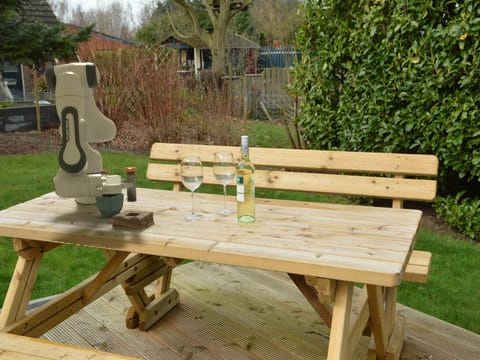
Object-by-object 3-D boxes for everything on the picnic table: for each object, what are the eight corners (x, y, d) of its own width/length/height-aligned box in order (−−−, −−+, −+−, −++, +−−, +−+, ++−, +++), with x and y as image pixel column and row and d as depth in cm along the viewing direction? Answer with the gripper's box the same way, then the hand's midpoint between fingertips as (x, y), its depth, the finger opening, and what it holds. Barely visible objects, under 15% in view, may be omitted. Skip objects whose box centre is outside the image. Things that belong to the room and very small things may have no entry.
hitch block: (127, 219, 222) (126, 209, 222) (153, 221, 219) (153, 211, 218) (112, 227, 211) (111, 217, 210) (139, 229, 208) (139, 219, 207)
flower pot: (95, 216, 227) (94, 195, 226) (109, 211, 235) (108, 191, 233) (111, 219, 223) (110, 197, 222) (125, 214, 231) (124, 193, 229)
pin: (129, 199, 216) (128, 166, 213) (140, 200, 215) (138, 167, 212) (123, 201, 211) (121, 168, 209) (134, 202, 210) (133, 169, 208)
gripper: (95, 182, 198) (134, 180, 201) (97, 172, 218) (132, 171, 221) (96, 199, 200) (134, 196, 203) (98, 188, 219) (133, 186, 222)
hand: (133, 183), depth 212 cm, fingers closed on pin, 4 cm apart
